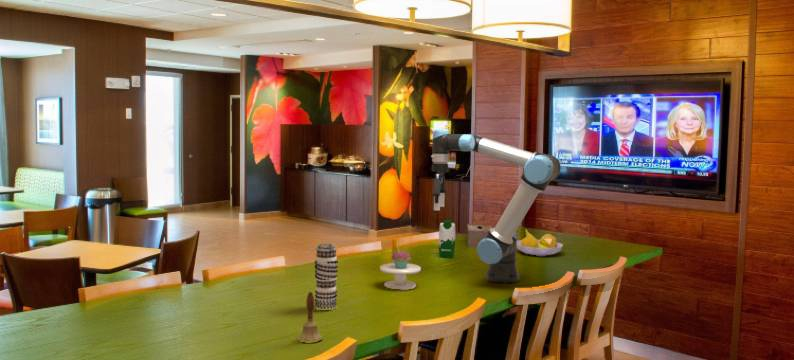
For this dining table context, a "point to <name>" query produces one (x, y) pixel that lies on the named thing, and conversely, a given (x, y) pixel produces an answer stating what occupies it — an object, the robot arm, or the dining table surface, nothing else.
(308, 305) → the hand bell
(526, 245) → the fruit bowl
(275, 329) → the dining table surface
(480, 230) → the tissue box cover
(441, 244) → the milk carton
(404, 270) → the cake stand
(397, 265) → the cupcake
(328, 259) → the decorative candle
